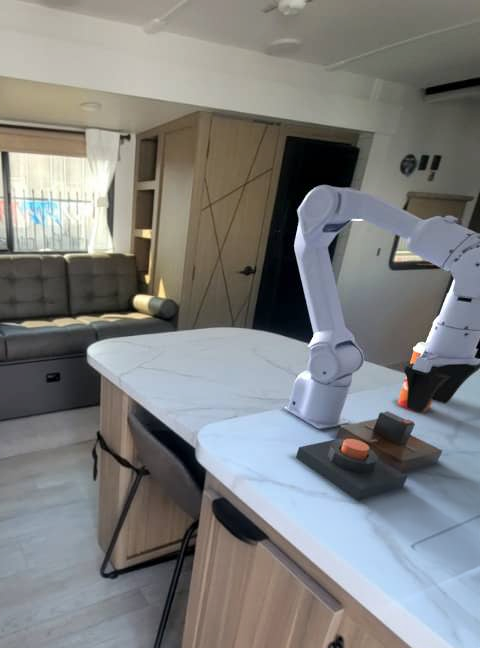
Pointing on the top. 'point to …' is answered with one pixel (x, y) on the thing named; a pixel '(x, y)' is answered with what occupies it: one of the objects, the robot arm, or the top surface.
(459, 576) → the top surface
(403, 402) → the paper cup
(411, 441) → the panel
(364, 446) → the orange push button
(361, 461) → the grey button base plate
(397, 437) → the lock knob
